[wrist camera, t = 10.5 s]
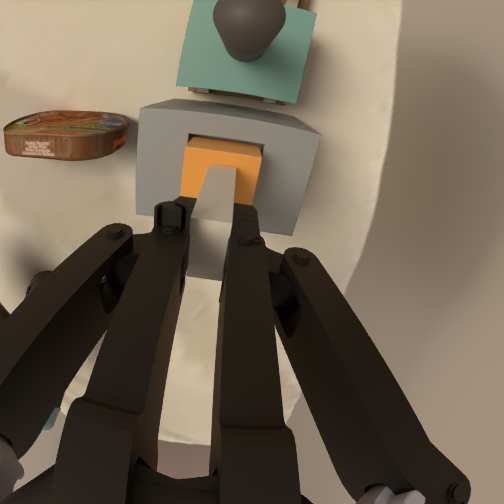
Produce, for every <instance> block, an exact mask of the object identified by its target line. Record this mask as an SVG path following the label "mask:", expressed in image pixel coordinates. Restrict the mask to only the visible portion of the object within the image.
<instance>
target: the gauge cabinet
mask: <svg viewBox="0 0 504 504" xmlns="http://www.w3.org/2000/svg"><path fill="white" fill-rule="evenodd" d="M193 137H200V138H209V139H216V140H223V141H230V142H237V143H243V144H249V145H255V146H259V148H260V152H261V156H262V160H261V165H260V169H259V174H258V178H257V183H256V188H255V192H254V197H253V202H252V206H254V208H255V209H256V210H257V211H258V222H259V230H260V231H262V232H269V233H275V234H282V235H288V236H292V234H293V231H294V227H295V224H296V221H297V218H298V214H299V211H300V208H301V204H302V201H303V197H304V194H305V191H306V187H307V184H308V180H309V177H310V173H311V170H312V166H313V163H314V159H315V156H316V152H317V148H318V145H319V141H320V137H321V134H319V133H318V132H316V131H315V130H314V129H312V128H311V127H309V126H308V125H306V124H305V123H303V122H302V121H300V120H299V119H297V118H295V117H293V116H289V115H284V114H280V113H275V112H270V111H265V110H260V109H254V108H249V107H243V106H236V105H230V104H222V103H215V102H206V101H197V100H186V99H171V100H167V101H163V102H160V103H156V104H152V105H149V106H145V107H142V108H140V115H139V127H138V141H137V160H136V214H137V215H146V216H154V207H155V206H156V205H157V204H158V203H161V202H165V201H174V200H175V199H176V198H178V197H180V192H181V181H182V170H183V160H184V151H185V146H186V145H187V144H188V143H189V141H190V140H191V139H192V138H193Z"/></svg>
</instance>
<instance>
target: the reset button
mask: <svg viewBox="0 0 504 504" xmlns="http://www.w3.org/2000/svg"><path fill="white" fill-rule="evenodd" d="M261 160H262V156H261V152H260V148H259V146H255V145H249V144H243V143H237V142H230V141H223V140H216V139H209V138H200V137H193V138H192V139H191V140H190V141H189V143H188V144H187V145H186V146H185V151H184V160H183V170H182V181H181V192H180V196H184V197H192V198H198V195H199V192H200V190H201V187H202V184H203V182H204V179H205V176H206V174H207V171H208V168H209V166H210V164H214V165H221V166H227V167H234V168H236V178H235V191H234V203H239V204H246V205H252V202H253V197H254V192H255V188H256V183H257V178H258V174H259V169H260V165H261Z"/></svg>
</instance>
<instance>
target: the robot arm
mask: <svg viewBox="0 0 504 504" xmlns="http://www.w3.org/2000/svg"><path fill="white" fill-rule="evenodd" d="M235 178H236V168H234V167H227V166H221V165H214V164H210V166H209V168H208V171H207V174H206V176H205V179H204V182H203V184H202V187H201V190H200V192H199V195H198V198H192V197H184V196H180V197H178V198H176V199H175V200H174V201H165V202H161V203H158V204H157V205H156V206H155V207H154V228H153V230H152V232H150V233H145V234H133V230H132V228H131V227H130V226H128V225H126V224H121V223H113V224H110V225H107V226H105V227H103V228H102V229H101V230H99V231H98V232H97V233H96V234H94V235H93V236H92V237H91V238H90V239H88V240H87V241H86V242H85V243H84V244H83V245H81V246H80V247H79V248H78V249H77V250H76V251H74V252H73V253H72V254H71V255H70V256H69V257H68V258H67V259H65V260H64V261H63V262H62V263H61V264H60V265H59V266H58V267H57V268H56V269H55V270H54V271H52V272H51V271H43V272H40V273H38V274H37V275H35V277H34V278H33V279H32V281H31V282H30V284H29V286H28V288H27V291H26V296H25V299H24V300H23V301H22V303H21V304H20V305H19V306H18V307H17V308H16V309H15V310H14V311H13V312H12V313H11V315H10V313H9V312H8V311H7V310H6V309H5V307H4V306H3V305H2V304H1V303H0V504H313V503H312V502H311V501H309V500H308V499H307V498H306V497H305V496H303V495H301V493H300V482H299V472H298V463H297V452H296V444H295V438H294V435H293V433H292V430H291V429H289V428H288V427H287V426H286V424H285V422H284V416H283V406H282V395H281V385H280V375H279V365H278V355H277V346H276V336H275V327H276V329H277V332H278V334H279V337H280V339H281V341H282V344H283V346H284V349H285V351H286V354H287V356H288V358H289V361H290V363H291V366H292V368H293V370H294V373H295V375H296V378H297V380H298V382H299V385H300V387H301V390H302V392H303V394H304V397H305V399H306V401H307V404H308V406H309V409H310V411H311V413H312V416H313V418H314V421H315V423H316V425H317V428H318V430H319V432H320V435H321V437H322V440H323V442H324V444H325V447H326V449H327V451H328V454H329V456H330V458H331V461H332V463H333V465H334V468H335V470H336V472H337V474H338V476H339V478H340V480H341V482H342V484H343V486H344V487H345V489H346V490H347V492H348V493H349V494H350V496H351V497H352V498H353V499H354V500H355V501H356V502H357V503H356V504H467V503H468V501H469V498H470V493H471V487H470V482H469V480H468V479H467V477H466V476H465V475H464V474H463V473H462V472H461V471H460V470H459V469H458V468H457V467H456V466H455V465H454V464H453V463H452V462H451V461H450V460H449V459H447V458H446V457H445V456H444V455H443V454H442V453H441V452H440V451H439V450H438V449H437V448H436V447H435V446H434V445H433V444H432V443H431V442H430V440H429V439H428V437H427V435H426V433H425V431H424V429H423V427H422V425H421V423H420V422H419V420H418V418H417V416H416V414H415V413H414V411H413V409H412V407H411V405H410V404H409V402H408V400H407V398H406V396H405V395H404V393H403V391H402V390H401V388H400V386H399V385H398V383H397V381H396V380H395V378H394V376H393V374H392V372H391V371H390V369H389V368H388V366H387V364H386V362H385V361H384V359H383V358H382V356H381V354H380V353H379V351H378V349H377V348H376V346H375V345H374V343H373V341H372V340H371V338H370V337H369V336H368V333H367V332H366V330H365V329H364V327H363V326H362V324H361V322H360V321H359V319H358V318H357V316H356V315H355V313H354V312H353V311H352V309H351V307H350V306H349V304H348V302H347V301H346V299H345V298H344V296H343V295H342V293H341V292H340V290H339V289H338V287H337V286H336V284H335V283H334V281H333V280H332V279H331V277H330V276H329V274H328V273H327V271H326V270H325V268H324V267H323V265H322V264H321V263H320V261H319V260H318V258H317V257H316V256H315V255H314V254H313V253H311V252H310V251H308V250H306V249H304V248H297V247H292V248H288V249H287V250H285V252H284V255H283V254H281V253H278V252H275V251H273V250H270V249H269V248H267V247H266V246H265V241H264V239H263V238H262V237H261V236H260V230H259V222H258V211H257V210H256V209H255V208H254V206H252V205H246V204H239V203H234V191H235ZM186 271H187V275H186ZM185 275H186V276H189V277H196V278H204V279H211V280H218V281H222V285H221V292H220V298H219V303H220V305H219V318H218V331H217V344H216V359H215V374H214V391H213V409H212V430H211V451H210V462H209V476H205V477H197V478H189V479H174V478H171V477H168V476H166V475H163V474H161V473H159V472H157V463H158V445H157V444H158V433H159V425H160V418H161V411H162V404H163V397H164V391H165V385H166V379H167V373H168V367H169V361H170V356H171V350H172V345H173V340H174V334H175V329H176V324H177V319H178V315H179V310H180V305H181V301H182V296H183V291H184V287H185ZM104 276H105V277H104ZM103 277H104V278H103ZM274 325H275V327H274ZM106 330H107V332H106V334H105V337H104V340H103V342H102V345H101V348H100V350H99V353H98V356H97V359H96V362H95V365H94V368H93V371H92V374H91V377H90V380H89V383H88V386H87V389H86V392H85V394H84V395H83V396H82V397H79V398H76V399H75V400H74V401H73V402H72V403H71V405H70V408H69V410H68V413H67V417H66V420H65V424H64V428H63V432H62V436H61V440H60V444H59V449H58V453H57V458H56V463H55V464H54V465H53V466H51V467H50V468H48V469H47V470H46V471H44V472H43V473H41V474H40V475H38V476H37V477H36V478H34V479H33V480H31V481H30V482H28V483H27V484H25V485H24V486H22V487H21V488H19V489H17V490H16V491H14V492H13V488H14V484H15V483H16V481H17V480H18V479H21V478H23V476H24V469H23V467H22V465H21V464H20V463H19V461H18V460H19V459H20V458H21V457H22V456H23V455H24V454H25V453H26V452H27V451H28V450H29V449H30V447H31V446H32V445H33V444H34V442H35V441H36V439H37V437H38V436H39V434H40V433H41V431H42V430H49V429H51V428H52V427H53V426H54V423H55V421H56V418H57V415H58V413H59V411H60V410H61V408H60V406H61V403H62V400H63V397H64V393H65V391H66V389H67V387H68V386H69V384H70V383H71V381H72V380H73V378H74V377H75V375H76V374H77V372H78V371H79V369H80V367H81V366H82V364H83V363H84V362H85V360H86V359H87V357H88V356H89V354H90V353H91V351H92V350H93V348H94V347H95V345H96V344H97V343H98V341H99V340H100V338H101V337H102V336H103V334H104V333H105V331H106Z"/></svg>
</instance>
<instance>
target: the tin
mask: <svg viewBox="0 0 504 504" xmlns="http://www.w3.org/2000/svg"><path fill="white" fill-rule="evenodd" d="M128 124H129V120H128V118H126V117H125V116H123V115H120V114H115V113H107V112H91V111H46V112H40V113H35V114H31V115H28V116H25V117H22V118H19V119H17V120H15V121H12V122H11V123H9V124H8V125H6V126H5V127H4V129H3V132H4V140H5V150H6V152H7V153H8V154H9V155H12V156H20V157H32V158H44V159H55V160H66V161H82V160H91V159H97V158H101V157H104V156H108V155H110V154H112V153H113V152H115V151H116V150H118V149H119V148H121V147H122V146H123V145H124V144H125V142H126V135H127V126H128Z"/></svg>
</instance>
